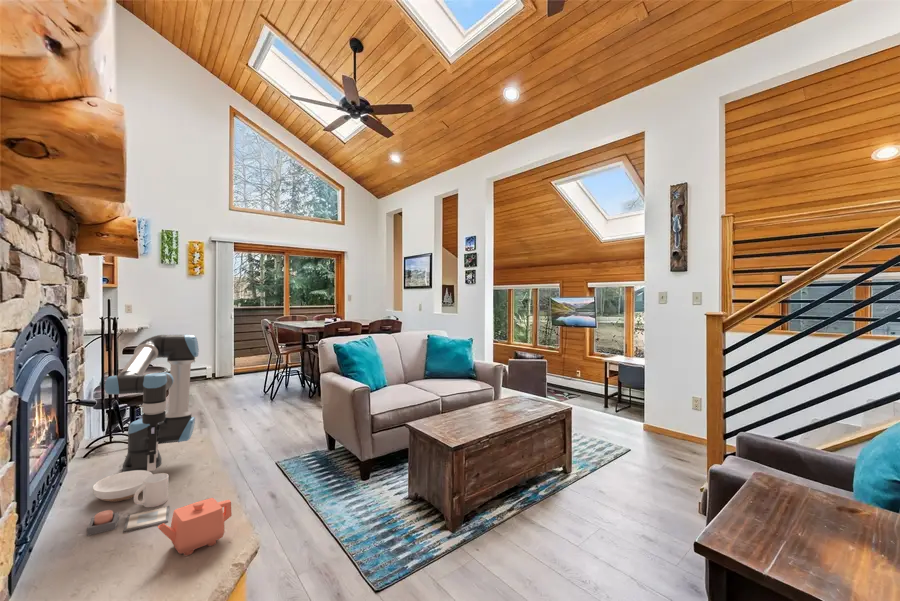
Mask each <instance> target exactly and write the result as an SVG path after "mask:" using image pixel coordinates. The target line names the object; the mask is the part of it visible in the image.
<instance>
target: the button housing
mask: <svg viewBox="0 0 900 601" xmlns="http://www.w3.org/2000/svg"><path fill="white" fill-rule="evenodd" d="M119 517H120V516H119V512H118V511H117V512H113V520H112V522H109V523H104V524H100V525H95V526H94V518H95V516H94V517H92V518H90V521H89V524H88V526H87V530H86V536H87V537H88V536H91V535H96V534H101V533H103V532H108V531H113V530H116V528H117V524H118V522H119Z"/></svg>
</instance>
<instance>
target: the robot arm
mask: <svg viewBox="0 0 900 601" xmlns="http://www.w3.org/2000/svg"><path fill="white" fill-rule="evenodd" d="M199 352H200V350H199V343H198V339H197V337H196V336H195V335H194V334H187V333H185V334H158V335H154V336H151V337H148V338H147V339H145V340H143V341H141V342H140V343H138V344H137V346H136V347H135V348H134V351H133V355H132V356H131V358H130V359H129V361H128V362H127V363H126V365H125V366H124V368H123V369H122V370H121V371H120V373H119V374H118V375H115V374H114V375H110V376H107V378H106V379H105V383H104V391H105V393H106V394H107V395H116V396H117V395H126V394H127V395H128V394H142V404H141V405H140V407H141V408H142V413H143V414H142V416H141V417H142V418H139V419H137V420H136V419H135V420H134V421H132V422H131V423H129V425H128V431H127V454H126V456H125V459H124V461H123V464H122V471H121V472H127V471H135V470H145V471H149V472H152V471H156V470H157V467H159V466H161V464H162V460H163V458H162V455H161V453H160V451H159V445H162V444H172V443H182V442H187V441H189V440H190V439H191V438H192V436H193V432H194V428H195V424H196V422H195V421H196V417H194V416H192V412H191V411H190V410H189V406H190V404H189V401H190V384H191V369H192V368H191V366H192V363H194V362H195V358H197V357H199ZM158 358H159V359H161V358H165V359H166V358H167V363H169V364H170V370H169V371H170V372H167V371H166V372H164V371H163V372H152V373H149V374H144V373H145V372H146V370H147V369H148V367H149V366H150V364H151V363H152V361H155V360H156V359H158ZM167 390H168V404H167ZM166 410H167V411H166ZM166 412H167V413H166Z"/></svg>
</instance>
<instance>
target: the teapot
mask: <svg viewBox="0 0 900 601" xmlns="http://www.w3.org/2000/svg"><path fill="white" fill-rule="evenodd" d="M232 516H233V514H232V501H231V500H230V499H226V500H221V501H217V500H216V499H215V498H214V497H210V498H207V499H202V500H199V501H197V502H192V503H190V504H187V505H185V506H182V507H178V508H175V509H174V510H173V512H172V516H171V522H170V526H169V525H167V523H163V524H158V525H157V528H158V530H159V531H160V532H162V533H163V535H165V537H167V538H168V539H169V540H170V541H171V544H172V545H173V547H174V548H175V550H176V551H177V553H178V554H179V555H181V554H183V555H184V556H186V557H187V556H191V555H192V554H194V552H195V550H197V549H200V548H202V547H204V546H208V547H212V546H215V545H216V544H217V541H218V540H220V539H222V538H223V537H224V534H225V522H226V521H227V520H228V519H230V518H231V517H232Z"/></svg>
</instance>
